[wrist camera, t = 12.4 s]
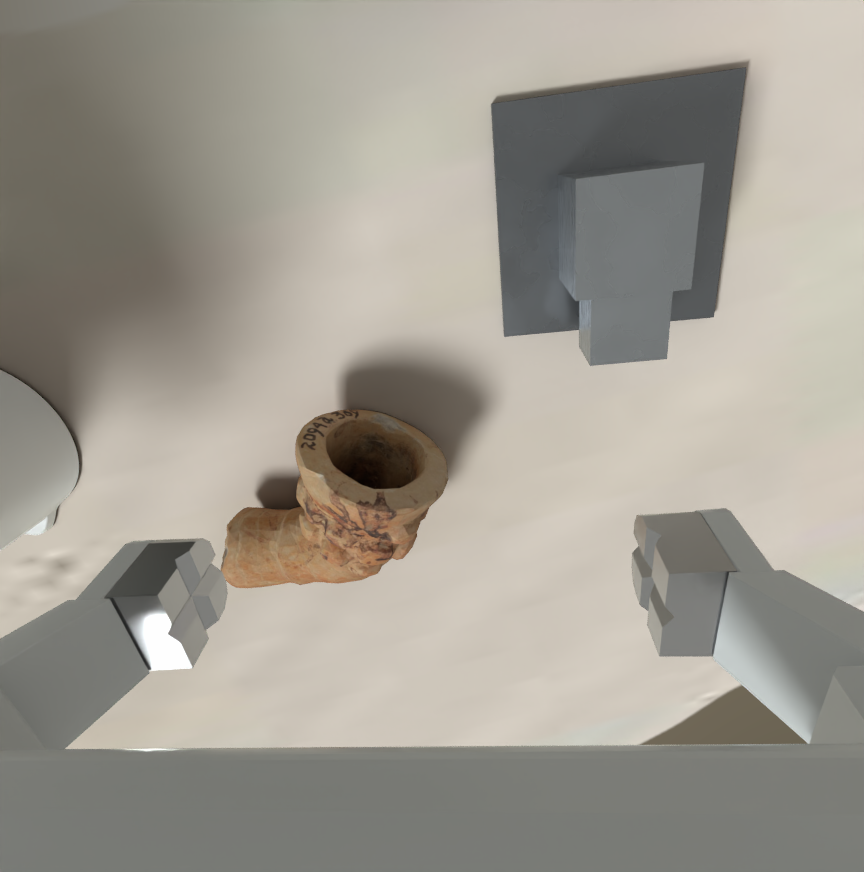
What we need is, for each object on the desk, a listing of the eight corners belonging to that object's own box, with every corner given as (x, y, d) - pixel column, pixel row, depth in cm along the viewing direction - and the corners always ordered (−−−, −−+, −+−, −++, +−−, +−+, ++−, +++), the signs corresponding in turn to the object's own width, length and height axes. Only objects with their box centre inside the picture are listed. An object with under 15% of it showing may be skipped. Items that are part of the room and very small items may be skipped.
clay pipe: (458, 498, 49) (439, 373, 39) (464, 606, 42) (441, 488, 31) (263, 514, 51) (192, 399, 40) (235, 621, 43) (139, 514, 33)
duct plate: (503, 334, 38) (507, 352, 34) (491, 104, 31) (493, 98, 28) (710, 314, 36) (736, 332, 33) (741, 68, 30) (777, 57, 26)
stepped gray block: (558, 174, 32) (575, 179, 27) (664, 160, 32) (704, 162, 26) (559, 336, 37) (575, 368, 32) (651, 327, 36) (684, 358, 31)
